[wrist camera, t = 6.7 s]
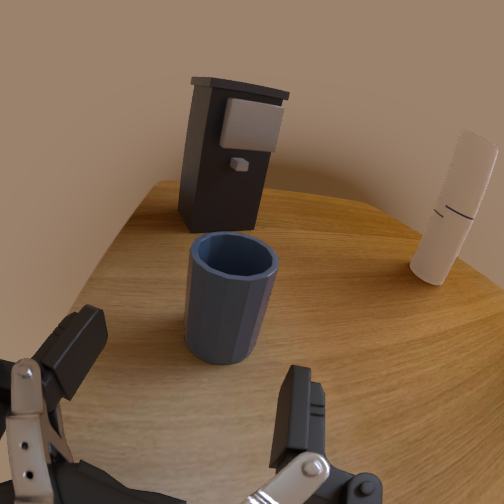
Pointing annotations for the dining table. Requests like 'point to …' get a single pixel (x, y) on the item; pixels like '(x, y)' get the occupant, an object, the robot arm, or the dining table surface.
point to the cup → (227, 295)
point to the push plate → (251, 125)
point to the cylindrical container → (455, 207)
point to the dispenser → (221, 160)
